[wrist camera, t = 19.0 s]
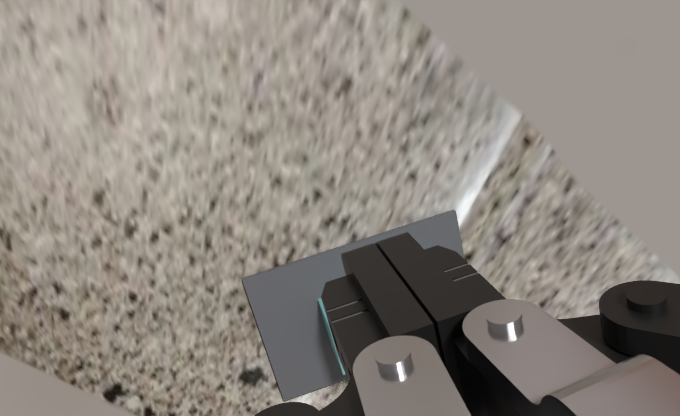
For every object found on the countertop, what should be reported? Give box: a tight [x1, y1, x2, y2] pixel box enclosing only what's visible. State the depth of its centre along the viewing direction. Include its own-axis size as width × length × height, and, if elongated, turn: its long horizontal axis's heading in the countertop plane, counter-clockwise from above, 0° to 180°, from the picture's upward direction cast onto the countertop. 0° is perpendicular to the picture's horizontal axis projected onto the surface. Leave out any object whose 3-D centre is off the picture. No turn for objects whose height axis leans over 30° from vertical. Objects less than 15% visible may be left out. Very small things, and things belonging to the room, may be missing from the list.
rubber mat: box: [242, 210, 464, 401], centre depth 50 cm, size 18×12×1 cm, turn 104°
